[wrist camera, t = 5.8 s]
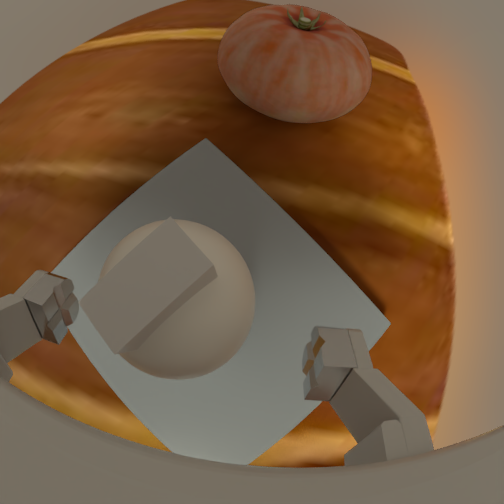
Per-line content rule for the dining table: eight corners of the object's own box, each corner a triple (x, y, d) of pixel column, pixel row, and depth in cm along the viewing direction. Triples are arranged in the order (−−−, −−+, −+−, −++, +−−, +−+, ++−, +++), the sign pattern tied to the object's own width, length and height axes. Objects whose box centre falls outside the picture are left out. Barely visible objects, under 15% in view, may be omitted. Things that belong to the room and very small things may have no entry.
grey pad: (51, 284, 15) (42, 282, 14) (207, 146, 18) (205, 137, 17) (215, 478, 12) (214, 486, 11) (382, 323, 15) (391, 323, 14)
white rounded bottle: (145, 306, 14) (18, 272, 4) (206, 252, 15) (164, 136, 5) (200, 370, 13) (140, 450, 4) (263, 313, 14) (320, 292, 5)
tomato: (331, 172, 18) (380, 89, 10) (192, 114, 18) (179, 25, 11) (363, 88, 20) (395, 24, 13) (255, 47, 21) (262, -22, 13)
